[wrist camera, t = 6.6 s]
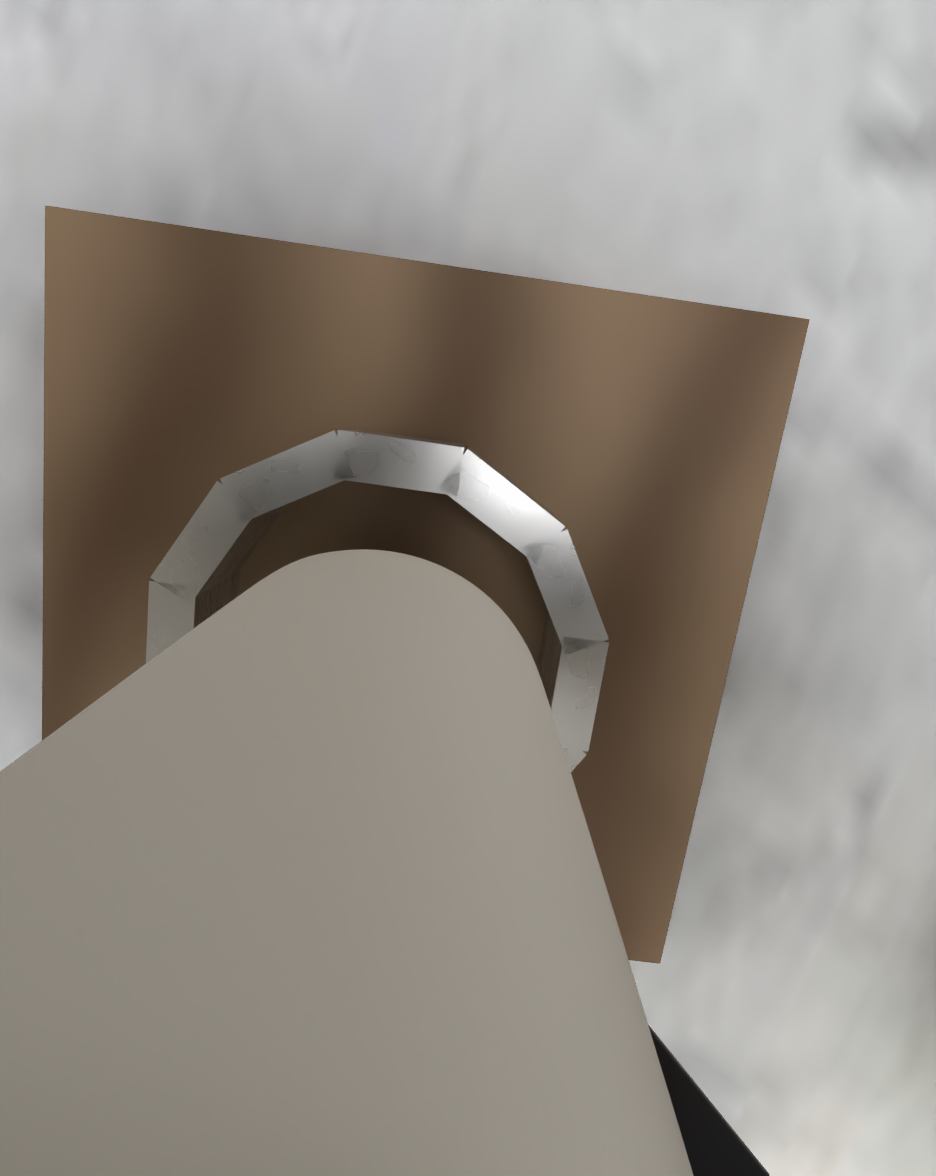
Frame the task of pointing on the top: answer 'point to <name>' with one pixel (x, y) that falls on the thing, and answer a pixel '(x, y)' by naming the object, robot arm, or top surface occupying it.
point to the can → (319, 908)
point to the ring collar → (261, 491)
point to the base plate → (411, 517)
